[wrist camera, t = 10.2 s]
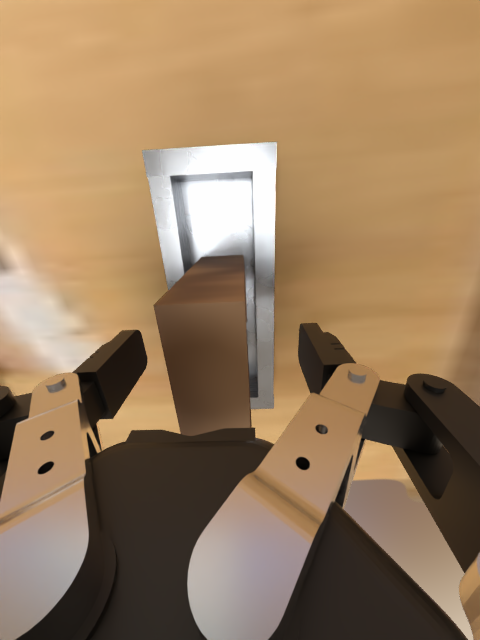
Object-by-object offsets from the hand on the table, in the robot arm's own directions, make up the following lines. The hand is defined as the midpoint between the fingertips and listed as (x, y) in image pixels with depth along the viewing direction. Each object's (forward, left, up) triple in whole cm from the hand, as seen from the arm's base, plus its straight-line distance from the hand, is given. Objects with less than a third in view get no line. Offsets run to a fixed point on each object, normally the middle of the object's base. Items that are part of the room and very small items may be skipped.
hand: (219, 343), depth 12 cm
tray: (0, 0, -8) cm, 8 cm away
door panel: (0, +1, -7) cm, 7 cm away
